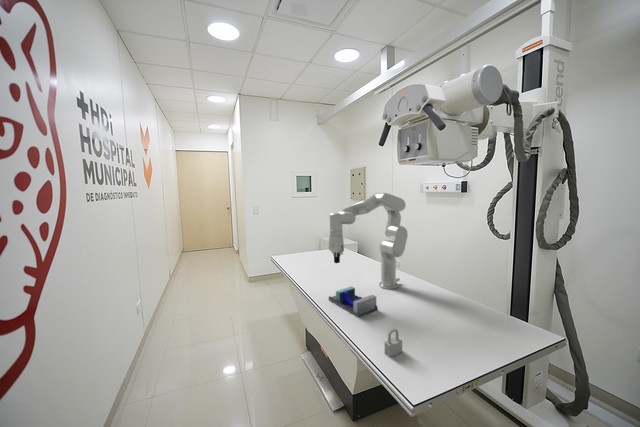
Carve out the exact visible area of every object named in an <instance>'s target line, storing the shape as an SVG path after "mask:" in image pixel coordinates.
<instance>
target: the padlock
mask: <svg viewBox="0 0 640 427" xmlns="http://www.w3.org/2000/svg"><path fill="white" fill-rule="evenodd" d="M393 333H395V337H392V335H393ZM387 334H388V335H387V340H386V341H384V343H383V344H384V354H385V355H387V356H388V357H389V358H390V357H393V356H396V355H399V354H400V353H402V352H403V340H402V339H401V338H400V336H399V335H400V333H399V330H398V329H397V328H391V330H389V331H388V333H387Z"/></svg>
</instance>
